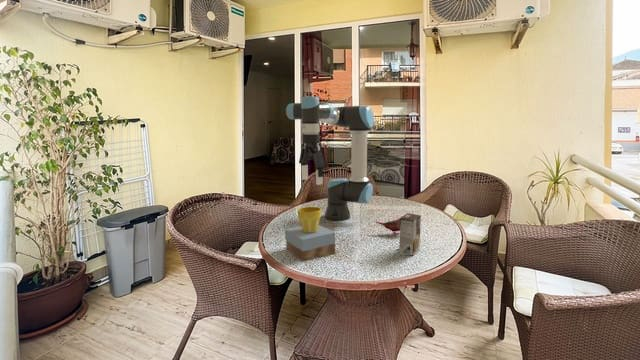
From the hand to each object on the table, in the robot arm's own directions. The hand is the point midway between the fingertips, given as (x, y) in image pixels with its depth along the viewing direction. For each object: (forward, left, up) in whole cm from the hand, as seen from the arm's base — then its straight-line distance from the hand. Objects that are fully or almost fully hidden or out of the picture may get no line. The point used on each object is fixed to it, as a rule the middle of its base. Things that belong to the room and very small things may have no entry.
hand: (312, 181), depth 153 cm
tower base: (+3, +4, -31) cm, 31 cm away
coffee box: (-34, +26, -31) cm, 53 cm away
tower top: (+3, +4, -26) cm, 27 cm away
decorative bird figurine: (-43, +4, -31) cm, 53 cm away
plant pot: (+3, +3, -21) cm, 22 cm away
